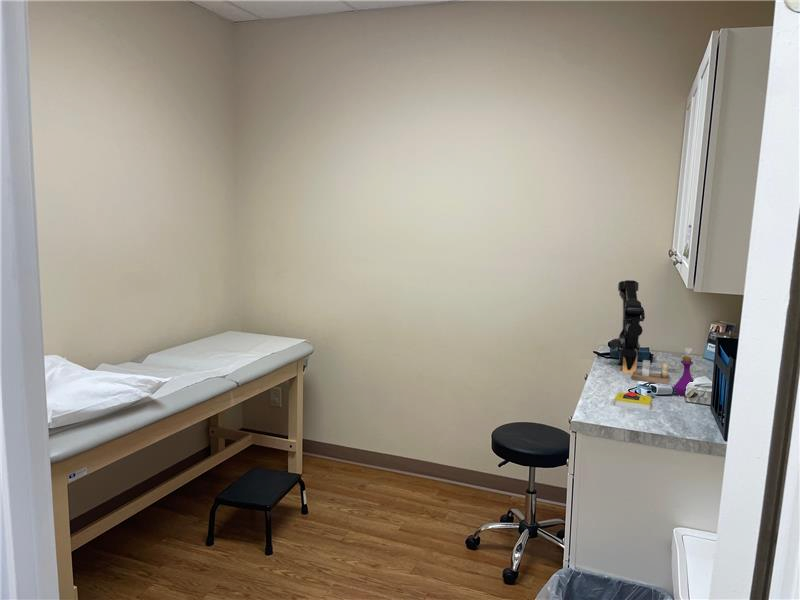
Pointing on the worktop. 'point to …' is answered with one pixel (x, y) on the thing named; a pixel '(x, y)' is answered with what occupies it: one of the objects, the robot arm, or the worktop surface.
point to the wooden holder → (652, 374)
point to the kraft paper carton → (634, 368)
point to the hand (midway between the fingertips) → (629, 368)
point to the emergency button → (634, 401)
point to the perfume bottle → (684, 374)
